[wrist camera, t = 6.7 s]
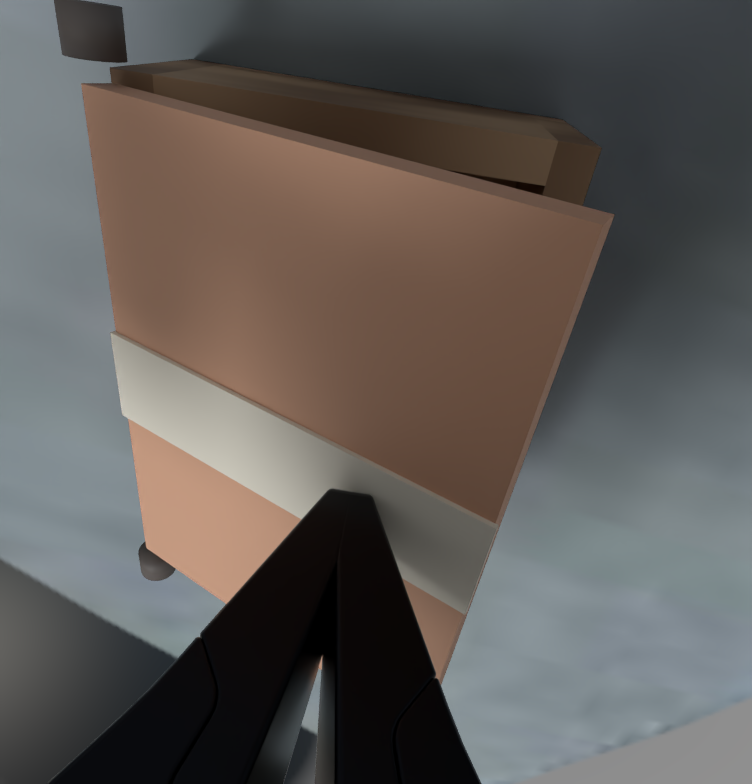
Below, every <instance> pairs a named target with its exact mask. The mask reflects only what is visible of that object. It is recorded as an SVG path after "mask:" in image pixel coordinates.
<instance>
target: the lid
mask: <svg viewBox="0 0 752 784" xmlns="http://www.w3.org/2000/svg"><path fill="white" fill-rule="evenodd" d="M81 85H82V92H83V100H84V107H85V114H86V121H87V128H88V135H89V142H90V149H91V157H92V164H93V171H94V178H95V185H96V192H97V199H98V207H99V214H100V221H101V228H102V235H103V242H104V249H105V257H106V264H107V271H108V278H109V285H110V292H111V299H112V306H113V314H114V321H115V328H116V331H113V332H111V333H110V334H111V341H112V347H113V354H114V361H115V368H116V375H117V381H118V388H119V395H120V402H121V409H122V415H123V416H125V417H127V418H128V421H129V428H130V435H131V442H132V449H133V456H134V463H135V471H136V478H137V485H138V492H139V499H140V506H141V513H142V520H143V528H144V535H145V542H146V548H147V549H148V550H150V551H151V552H153V553H154V554H156V555H157V556H158V557H160V558H161V559H163V560H164V561H166V562H167V563H169V564H170V565H171V566H173V567H174V568H176V569H177V570H179V571H180V572H181V573H183V574H184V575H186V576H187V577H189V578H190V579H192V580H193V581H194V582H196V583H197V584H199V585H200V586H202V587H203V588H204V589H206V590H207V591H209V592H210V593H212V594H213V595H214V596H216V597H217V598H219V599H220V600H222V601H223V602H225V603H226V604H227V603H228V602H229V601H230V599H231V598H232V597H233V596H234V595H235V594H236V593H237V592H238V590H239V589H240V588H241V587H242V586H243V585H244V584H245V583H246V581H247V580H248V579H249V578H250V577H251V576H252V575H253V574H254V572H255V571H256V570H257V569H258V568H259V567H260V566H261V564H262V563H263V562H264V561H265V560H266V559H267V558H268V557H269V555H270V554H271V553H272V552H273V551H274V550H275V549H276V548H277V546H278V545H279V544H280V543H281V542H282V541H283V540H284V539H285V537H286V536H287V535H288V534H289V533H290V532H291V531H292V530H293V528H294V527H295V526H296V525H297V524H298V523H299V522H300V521H301V519H302V518H303V517H304V516H305V515H306V514H307V513H308V512H309V510H310V509H311V508H312V507H313V506H314V505H315V504H316V503H317V501H318V500H319V499H320V498H321V497H322V496H323V495H324V494H325V492H326V491H327V490H329V489H331V488H334V489H340V490H346V491H351V492H358V493H363V494H369V495H371V496H372V497H373V499H374V501H375V504H376V507H377V509H378V512H379V515H380V518H381V521H382V523H383V526H384V529H385V532H386V535H387V537H388V540H389V543H390V546H391V549H392V551H393V554H394V557H395V560H396V562H397V565H398V568H399V571H400V574H401V576H402V579H403V582H404V585H405V588H406V590H407V593H408V596H409V599H410V602H411V604H412V607H413V610H414V613H415V616H416V618H417V621H418V624H419V627H420V630H421V632H422V635H423V638H424V641H425V644H426V646H427V649H428V652H429V655H430V657H431V660H432V663H433V666H434V669H435V671H436V677H435V678H437V679H438V680H439V682H440V685H441V684H442V681H443V678H444V676H445V673H446V670H447V668H448V665H449V662H450V660H451V657H452V654H453V651H454V649H455V646H456V643H457V641H458V638H459V635H460V632H461V630H462V627H463V624H464V622H465V619H466V616H467V613H468V611H469V608H470V605H471V603H472V600H473V597H474V594H475V592H476V589H477V586H478V584H479V581H480V578H481V576H482V573H483V570H484V567H485V565H486V562H487V559H488V557H489V554H490V551H491V548H492V546H493V543H494V540H495V538H496V535H497V532H498V529H499V527H500V524H501V521H502V519H503V516H504V513H505V511H506V508H507V505H508V502H509V500H510V497H511V494H512V492H513V489H514V486H515V483H516V481H517V478H518V475H519V473H520V470H521V467H522V464H523V462H524V459H525V456H526V454H527V451H528V448H529V445H530V443H531V440H532V437H533V435H534V432H535V429H536V427H537V424H538V421H539V418H540V416H541V413H542V410H543V408H544V405H545V402H546V399H547V397H548V394H549V391H550V389H551V386H552V383H553V380H554V378H555V375H556V372H557V370H558V367H559V364H560V361H561V359H562V356H563V353H564V351H565V348H566V345H567V343H568V340H569V337H570V334H571V332H572V329H573V326H574V324H575V321H576V318H577V315H578V313H579V310H580V307H581V305H582V302H583V299H584V296H585V294H586V291H587V288H588V286H589V283H590V280H591V278H592V275H593V272H594V269H595V267H596V264H597V261H598V259H599V256H600V253H601V250H602V248H603V245H604V242H605V240H606V237H607V234H608V231H609V229H610V226H611V223H612V221H613V218H614V215H615V214H611V213H607V212H603V211H599V210H596V209H592V208H588V207H584V206H580V205H577V204H573V203H569V202H565V201H561V200H558V199H554V198H550V197H546V196H542V195H538V194H535V193H531V192H527V191H523V190H519V189H516V188H512V187H508V186H504V185H500V184H497V183H493V182H489V181H485V180H481V179H477V178H474V177H470V176H466V175H462V174H458V173H455V172H451V171H447V170H443V169H439V168H436V167H432V166H428V165H424V164H420V163H417V162H413V161H409V160H405V159H401V158H397V157H394V156H390V155H386V154H382V153H378V152H375V151H371V150H367V149H363V148H359V147H356V146H352V145H348V144H344V143H340V142H336V141H333V140H329V139H325V138H321V137H317V136H314V135H310V134H306V133H302V132H298V131H295V130H291V129H287V128H283V127H279V126H275V125H272V124H268V123H264V122H260V121H256V120H253V119H249V118H245V117H241V116H237V115H234V114H230V113H226V112H222V111H218V110H214V109H211V108H207V107H203V106H199V105H195V104H192V103H188V102H184V101H180V100H176V99H173V98H169V97H165V96H161V95H157V94H153V93H150V92H146V91H142V90H138V89H134V88H131V87H127V86H123V85H119V84H115V83H81ZM319 669H321V670H322V658H321V661H320V665H319Z"/></svg>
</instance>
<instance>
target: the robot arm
mask: <svg viewBox="0 0 752 784" xmlns="http://www.w3.org/2000/svg"><path fill="white" fill-rule="evenodd" d="M321 658H322V670H321V686H320V703H319V719H318V735H317V752H316V768H315V784H481V782H480V780H479V777H478V775H477V773H476V771H475V769H474V766H473V764H472V762H471V760H470V758H469V756H468V753H467V751H466V749H465V747H464V745H463V742H462V740H461V737H460V735H459V732H458V730H457V727H456V725H455V722H454V720H453V717H452V714H451V712H450V709H449V707H448V704H447V701H446V699H445V696H444V693H443V690H442V687H441V685H440V682H439V680H438V679H437V678H435V677H436V671H435V669H434V666H433V663H432V660H431V657H430V655H429V652H428V649H427V646H426V644H425V641H424V638H423V635H422V632H421V630H420V627H419V624H418V621H417V618H416V616H415V613H414V610H413V607H412V604H411V602H410V599H409V596H408V593H407V590H406V588H405V585H404V582H403V579H402V576H401V574H400V571H399V568H398V565H397V562H396V560H395V557H394V554H393V551H392V549H391V546H390V543H389V540H388V537H387V535H386V532H385V529H384V526H383V523H382V521H381V518H380V515H379V512H378V509H377V507H376V504H375V501H374V499H373V497H372V496H371V495H369V494H363V493H358V492H351V491H346V490H340V489H334V488H331V489H329V490H327V491H326V492H325V494H324V495H323V496H322V497H321V498H320V499H319V500H318V501H317V503H316V504H315V505H314V506H313V507H312V508H311V509H310V510H309V512H308V513H307V514H306V515H305V516H304V517H303V518H302V519H301V521H300V522H299V523H298V524H297V525H296V526H295V527H294V528H293V530H292V531H291V532H290V533H289V534H288V535H287V536H286V537H285V539H284V540H283V541H282V542H281V543H280V544H279V545H278V546H277V548H276V549H275V550H274V551H273V552H272V553H271V554H270V555H269V557H268V558H267V559H266V560H265V561H264V562H263V563H262V564H261V566H260V567H259V568H258V569H257V570H256V571H255V572H254V574H253V575H252V576H251V577H250V578H249V579H248V580H247V581H246V583H245V584H244V585H243V586H242V587H241V588H240V589H239V590H238V592H237V593H236V594H235V595H234V596H233V597H232V598H231V599H230V601H229V602H228V603H227V604H226V605H225V606H224V607H223V608H222V610H221V611H220V612H219V613H218V614H217V615H216V616H215V617H214V619H213V620H212V621H211V622H210V623H209V624H208V625H207V626H206V628H205V629H204V630H203V631H202V632H201V634H200V637H197V638H195V640H194V641H193V642H192V643H191V644H190V645H189V646H188V647H187V649H186V650H185V651H184V652H183V653H182V654H181V655H180V656H179V658H178V659H177V660H176V661H175V662H174V663H173V664H172V665H171V666H170V667H169V668H168V669H167V670H166V671H165V673H164V674H163V675H162V676H161V677H160V678H159V679H158V680H157V681H156V682H155V683H154V684H153V685H152V686H151V687H150V689H148V690H147V691H146V692H145V693H144V694H143V695H142V696H141V697H140V698H139V699H138V700H137V701H136V702H135V703H134V704H133V705H132V706H131V707H130V708H129V709H127V710H126V711H125V713H123V714H122V715H121V716H120V717H119V718H118V719H117V720H116V721H115V722H114V723H113V724H112V725H111V726H110V727H108V728H107V729H106V730H105V731H104V732H103V733H102V734H101V735H100V736H99V737H98V738H96V739H95V740H94V741H93V742H92V743H91V744H90V745H89V746H88V747H86V748H85V749H84V750H83V751H82V752H81V753H80V754H79V755H78V756H77V757H76V758H74V759H73V760H72V761H71V762H70V763H69V764H68V765H67V766H66V767H65V768H63V769H62V770H61V771H60V772H59V773H58V774H57V775H56V776H55V777H54V778H52V779H51V780H50V781H49V782H48V783H47V784H283V782H284V779H285V776H286V773H287V769H288V766H289V762H290V760H291V756H292V753H293V750H294V746H295V743H296V740H297V736H298V733H299V730H300V727H301V724H302V720H303V717H304V714H305V710H306V707H307V704H308V701H309V697H310V694H311V691H312V688H313V684H314V681H315V678H316V674H317V671H318V668H319V665H320V661H321Z"/></svg>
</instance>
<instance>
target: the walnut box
mask: <svg viewBox="0 0 752 784" xmlns="http://www.w3.org/2000/svg"><path fill="white" fill-rule="evenodd" d="M54 4H55V10H56V17H57V23H58V30H59V37H60V43H61V50H62V55H64V56H68V57H72V58H78V59H84V60H91V61H101V62H116V63H122V62H127V53H126V43H125V33H124V23H123V12H122V7H119V6H114V5H108V4H102V3H95V2H89V1H82V0H54ZM110 74H111V82H112V83H115V84H119V85H123V86H127V87H131V88H134V89H138V90H142V91H146V92H150V93H153V94H157V95H161V96H165V97H169V98H173V99H176V100H180V101H184V102H188V103H192V104H195V105H199V106H203V107H207V108H211V109H214V110H218V111H222V112H226V113H230V114H234V115H237V116H241V117H245V118H249V119H253V120H256V121H260V122H264V123H268V124H272V125H275V126H279V127H283V128H287V129H291V130H295V131H298V132H302V133H306V134H310V135H314V136H317V137H321V138H325V139H329V140H333V141H336V142H340V143H344V144H348V145H352V146H356V147H359V148H363V149H367V150H371V151H375V152H378V153H382V154H386V155H390V156H394V157H397V158H401V159H405V160H409V161H413V162H417V163H420V164H424V165H428V166H432V167H436V168H439V169H443V170H447V171H451V172H455V173H458V174H462V175H466V176H470V177H474V178H477V179H481V180H485V181H489V182H493V183H497V184H500V185H504V186H508V187H512V188H516V189H519V190H523V191H527V192H531V193H535V194H538V195H542V196H546V197H550V198H554V199H558V200H561V201H565V202H569V203H573V204H577V205H580V206H583V203H584V200H585V197H586V194H587V191H588V188H589V185H590V182H591V179H592V176H593V173H594V170H595V167H596V164H597V161H598V158H599V155H600V152H601V149H602V148H601V147H600V146H598V145H597V144H596V143H594V142H593V141H592V140H590V139H589V138H587V137H586V136H585V135H583V134H582V133H581V132H579V131H578V130H576V129H575V128H574V127H572V126H571V125H569V124H568V123H567V122H565V121H564V120H562V119H556V118H550V117H544V116H538V115H532V114H526V113H519V112H513V111H507V110H501V109H495V108H489V107H483V106H476V105H470V104H464V103H458V102H452V101H446V100H440V99H433V98H427V97H421V96H415V95H409V94H403V93H397V92H391V91H384V90H378V89H372V88H366V87H360V86H354V85H348V84H341V83H335V82H329V81H323V80H317V79H311V78H305V77H298V76H292V75H286V74H280V73H274V72H268V71H262V70H255V69H249V68H243V67H237V66H231V65H225V64H219V63H213V62H206V61H200V60H194V59H189V60H179V61H169V62H160V63H150V64H140V65H130V66H120V67H110ZM139 560H140V566H141V572H142V575H143V576H144V577H145V578H146V579H148V580H151V581H159V580H163V579H166V578H168V577H169V576H171V575H172V574H173V573H174V571H175V569H176V568H174V567H173V566H171V565H170V564H169V563H167V562H166V561H164V560H163V559H161V558H160V557H158V556H157V555H156V554H154V553H153V552H151V551H150V550H148V549H147V548H146V542H144V543H143V544H142V545H141V547H140V548H139Z"/></svg>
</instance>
